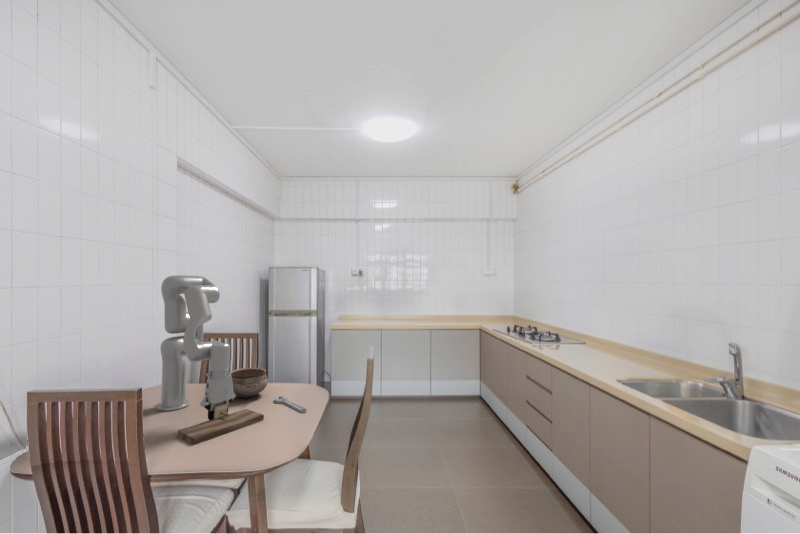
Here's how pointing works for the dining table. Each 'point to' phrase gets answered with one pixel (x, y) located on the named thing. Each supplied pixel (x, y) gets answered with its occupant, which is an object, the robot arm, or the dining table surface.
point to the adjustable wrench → (290, 404)
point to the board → (219, 426)
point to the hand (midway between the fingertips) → (217, 417)
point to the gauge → (220, 410)
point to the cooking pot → (248, 381)
